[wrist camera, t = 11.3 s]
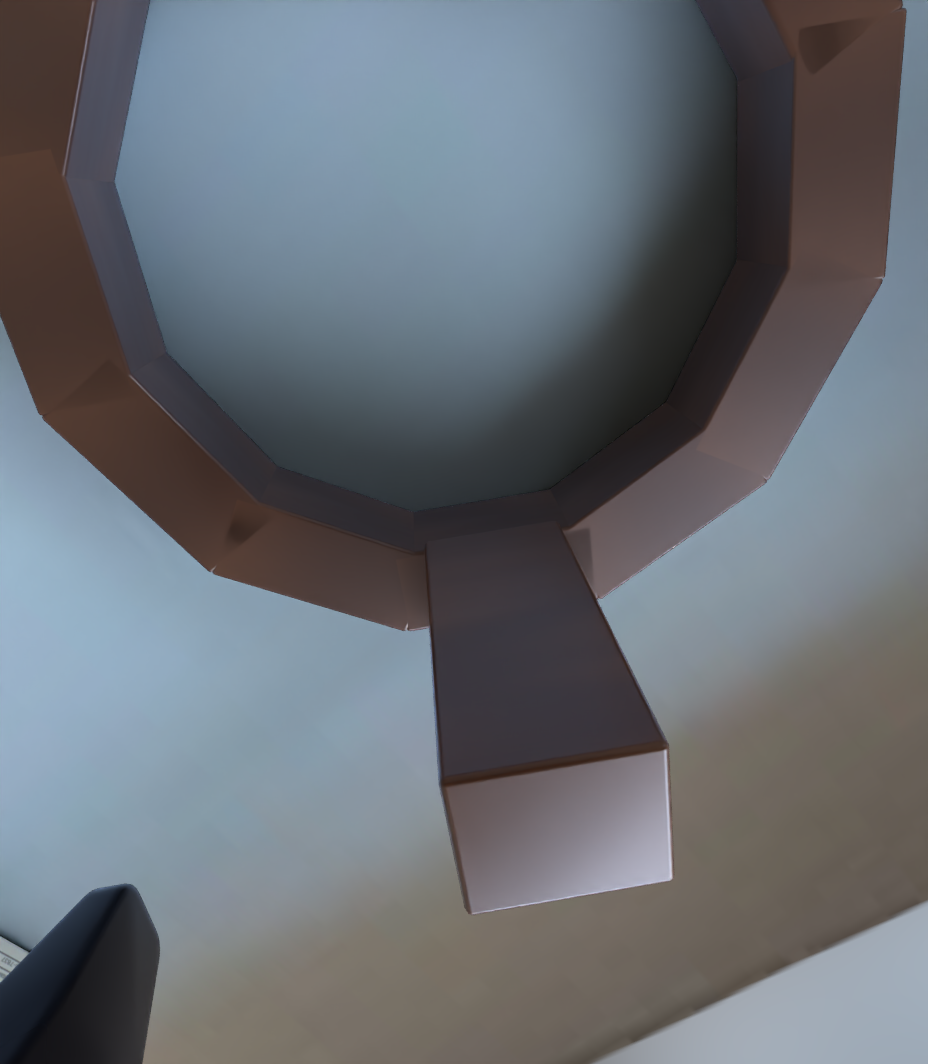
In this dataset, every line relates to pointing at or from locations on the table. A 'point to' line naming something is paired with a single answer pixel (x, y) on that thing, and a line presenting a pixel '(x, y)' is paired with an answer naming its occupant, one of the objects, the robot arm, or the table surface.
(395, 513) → the ring
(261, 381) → the table surface
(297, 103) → the table surface
